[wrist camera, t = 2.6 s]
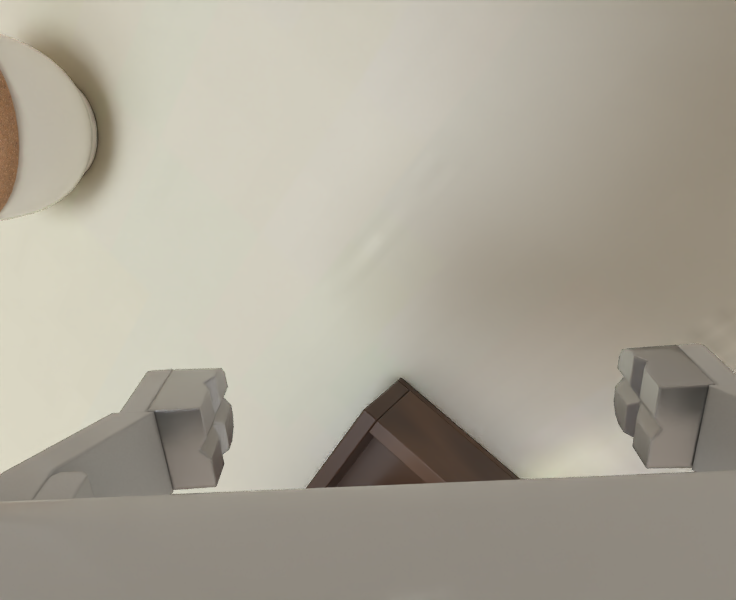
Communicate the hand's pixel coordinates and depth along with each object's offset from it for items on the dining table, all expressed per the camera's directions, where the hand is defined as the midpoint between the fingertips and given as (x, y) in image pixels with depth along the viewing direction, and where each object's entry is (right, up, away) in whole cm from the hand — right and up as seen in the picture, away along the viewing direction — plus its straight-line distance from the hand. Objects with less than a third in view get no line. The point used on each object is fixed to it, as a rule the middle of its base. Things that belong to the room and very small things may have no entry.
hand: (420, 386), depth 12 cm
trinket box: (-21, +13, +26) cm, 35 cm away
